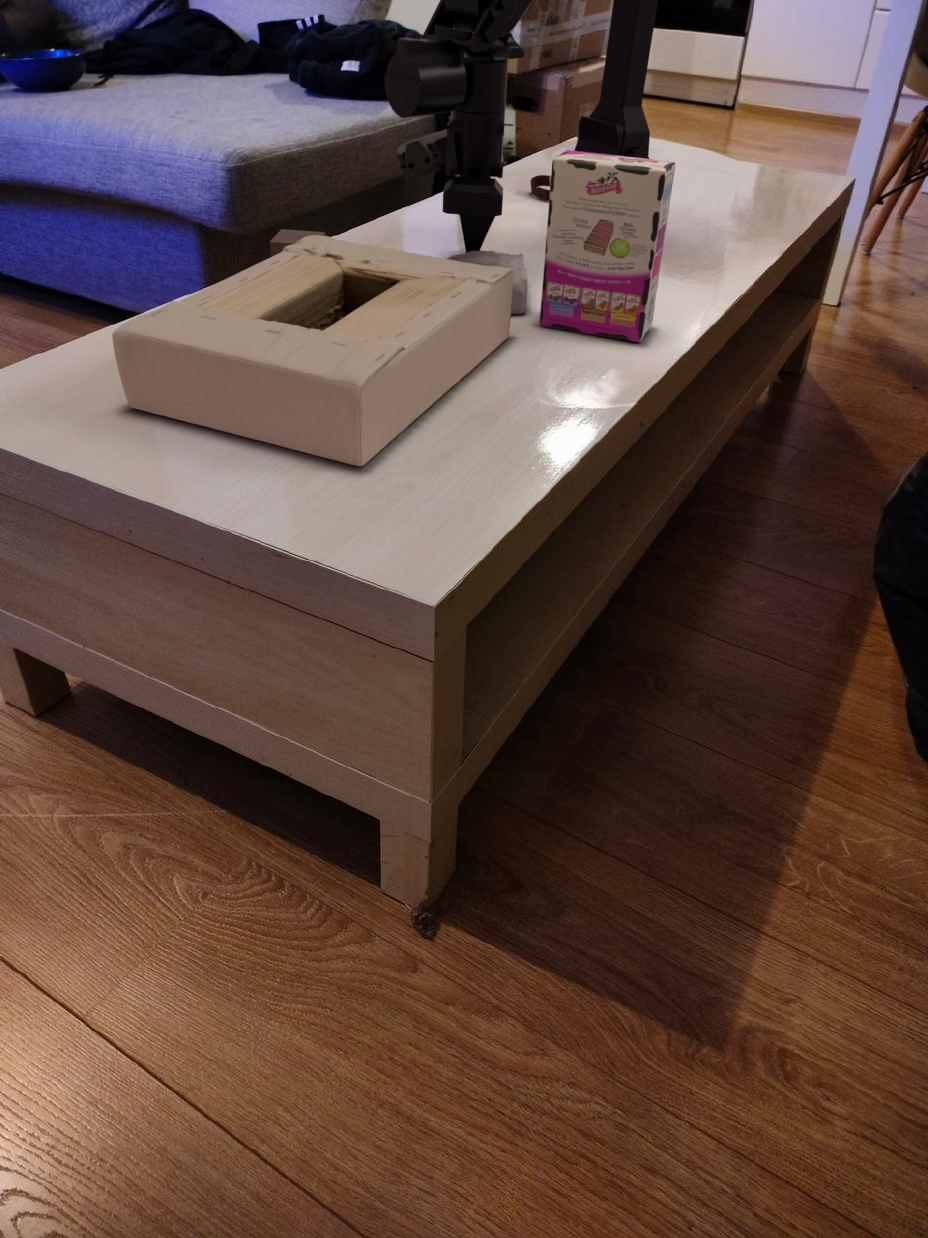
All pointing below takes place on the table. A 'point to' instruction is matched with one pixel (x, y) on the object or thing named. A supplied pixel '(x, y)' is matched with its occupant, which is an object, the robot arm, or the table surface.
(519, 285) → the stone block
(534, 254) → the table surface
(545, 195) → the watch
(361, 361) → the box
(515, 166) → the table surface
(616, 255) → the candy bar box
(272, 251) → the walnut cube
